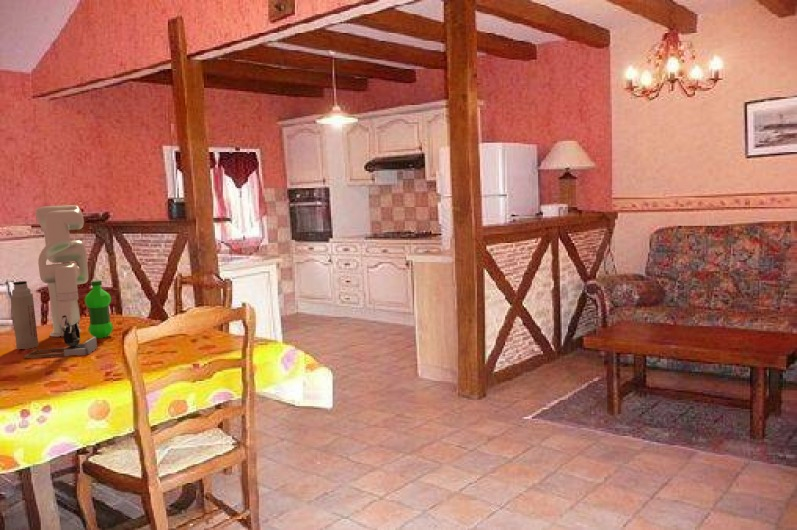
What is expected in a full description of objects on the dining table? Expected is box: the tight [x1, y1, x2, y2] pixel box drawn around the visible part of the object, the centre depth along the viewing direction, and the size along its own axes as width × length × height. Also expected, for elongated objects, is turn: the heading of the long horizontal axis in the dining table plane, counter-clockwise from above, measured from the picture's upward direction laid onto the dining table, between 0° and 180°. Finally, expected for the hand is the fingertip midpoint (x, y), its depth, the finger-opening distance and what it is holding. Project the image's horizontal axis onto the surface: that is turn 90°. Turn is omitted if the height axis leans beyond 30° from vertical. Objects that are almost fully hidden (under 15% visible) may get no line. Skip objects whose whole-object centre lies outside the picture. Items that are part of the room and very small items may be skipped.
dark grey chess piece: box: [65, 324, 81, 349], centre depth 261 cm, size 6×6×12 cm
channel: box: [23, 347, 67, 360], centre depth 261 cm, size 10×15×1 cm, turn 96°
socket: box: [63, 336, 98, 357], centre depth 261 cm, size 10×9×5 cm
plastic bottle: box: [84, 279, 114, 339], centre depth 288 cm, size 10×10×25 cm
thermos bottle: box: [10, 280, 39, 350], centre depth 273 cm, size 8×8×28 cm
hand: (72, 340), depth 261 cm, fingers closed on dark grey chess piece, 5 cm apart
